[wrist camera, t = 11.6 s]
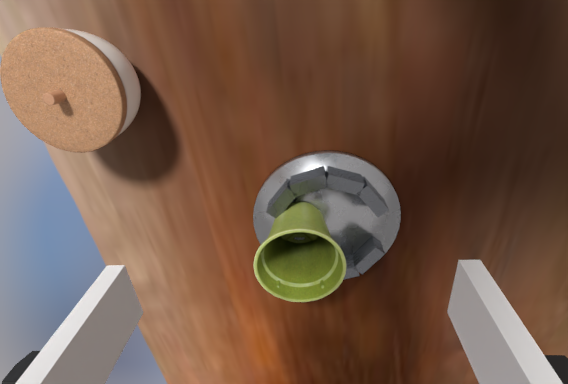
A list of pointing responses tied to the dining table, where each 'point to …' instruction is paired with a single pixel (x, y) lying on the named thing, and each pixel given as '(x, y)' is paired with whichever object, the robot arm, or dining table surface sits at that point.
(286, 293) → the plant pot
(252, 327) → the dining table surface
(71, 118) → the lidded jar
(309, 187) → the hub
